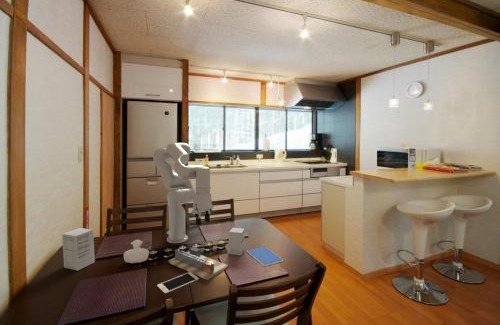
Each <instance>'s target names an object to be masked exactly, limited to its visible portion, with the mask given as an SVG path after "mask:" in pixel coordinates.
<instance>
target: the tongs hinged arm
mask: <svg viewBox="0 0 500 325" xmlns="http://www.w3.org/2000/svg"><path fill="white" fill-rule="evenodd" d="M180 252H182V253H184V254H187V255H189V256H192V257H194V258H197V259H199V260H202V261H204V262H208V263H210V264H212V273H213V272H214V263H213V262H210V261H207V260H205V259H202V258H200V257H197V256H195V255H192V254H189V253H187V252H188V251H184V250H180Z"/></svg>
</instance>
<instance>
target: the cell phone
mask: <svg viewBox="0 0 500 325" xmlns="http://www.w3.org/2000/svg"><path fill="white" fill-rule="evenodd" d="M199 279H200V278H199V276H197V275H195V274H193V273H191V272H188V271H187V272H186V273H183V274H181V275H178V276H175V277H174V278H171V279H169V280H166V281H164V282H160V283H158V284H157V285H156V286H157V287H158V288H159V289H160V290H161V291H162V292H163V293H164V294H168V293H170V292H172V291H175V290H177V289H179V288H182V287H184V286H186V285H188V284H191V283H193V282H196V281H198V280H199Z"/></svg>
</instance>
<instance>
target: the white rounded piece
mask: <svg viewBox="0 0 500 325" xmlns="http://www.w3.org/2000/svg"><path fill="white" fill-rule="evenodd" d="M143 242H144V241H142V240H140V239H135V240H133V241H132V242H130V245H131V246H132V247H133V248H131V249H129V250H126V251H124V253H123V260H124V262H125V263H130V264H137V263H142V262H145V261H147V260H148V258H149V256H150V255H149V254H150V251H149V250H148V249H147V248H141V246H142V244H143Z"/></svg>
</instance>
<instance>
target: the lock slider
mask: <svg viewBox="0 0 500 325" xmlns="http://www.w3.org/2000/svg"><path fill="white" fill-rule="evenodd" d="M188 251H189V254H192V255H195V256H197V257H199V256H200V255H201V249H200V248H197V247H196V246H195V247H194V246H193V247H190V248H189V250H188Z"/></svg>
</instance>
